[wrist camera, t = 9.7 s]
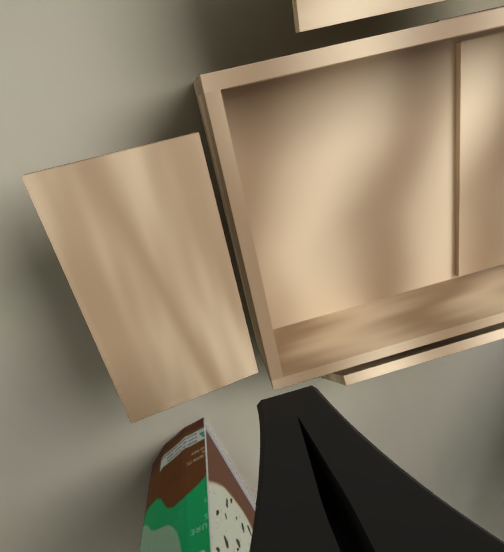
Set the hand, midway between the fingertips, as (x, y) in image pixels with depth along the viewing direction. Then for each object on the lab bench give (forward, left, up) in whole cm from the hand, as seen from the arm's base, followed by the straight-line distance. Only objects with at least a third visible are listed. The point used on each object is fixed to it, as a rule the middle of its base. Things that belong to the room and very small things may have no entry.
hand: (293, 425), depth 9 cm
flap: (0, -2, -6) cm, 6 cm away
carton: (-8, 0, -10) cm, 13 cm away
